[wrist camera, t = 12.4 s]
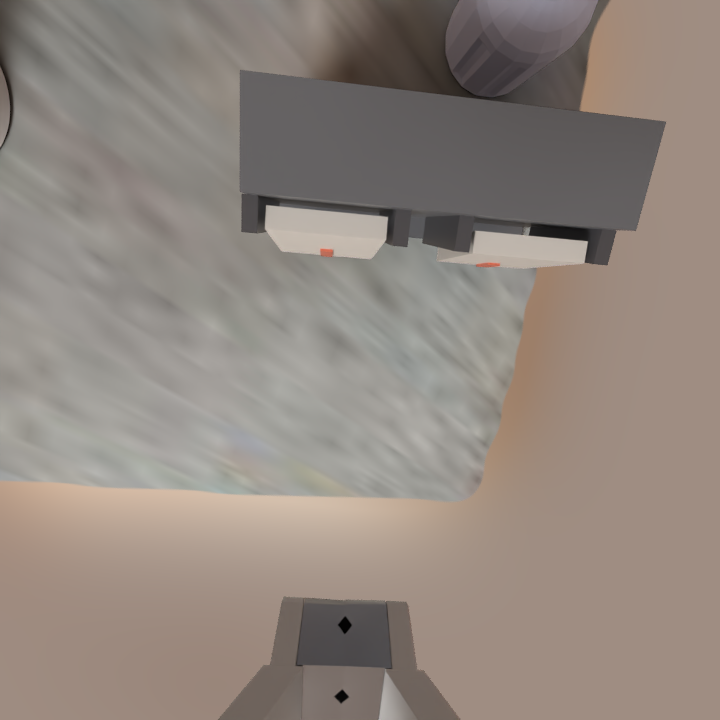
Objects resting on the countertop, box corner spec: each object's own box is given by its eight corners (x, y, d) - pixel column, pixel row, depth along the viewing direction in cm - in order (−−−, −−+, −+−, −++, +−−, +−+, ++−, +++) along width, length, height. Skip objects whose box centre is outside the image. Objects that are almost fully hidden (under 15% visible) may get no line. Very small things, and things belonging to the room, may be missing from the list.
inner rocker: (281, 253, 38) (264, 231, 28) (282, 234, 37) (266, 205, 28) (370, 261, 38) (385, 243, 28) (372, 242, 38) (387, 216, 28)
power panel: (271, 227, 44) (222, 231, 25) (273, 115, 41) (220, 22, 22) (514, 249, 46) (640, 269, 27) (534, 144, 43) (694, 83, 24)
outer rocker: (436, 263, 39) (472, 256, 29) (438, 244, 38) (475, 230, 29) (520, 270, 39) (583, 266, 30) (523, 252, 39) (588, 241, 29)
